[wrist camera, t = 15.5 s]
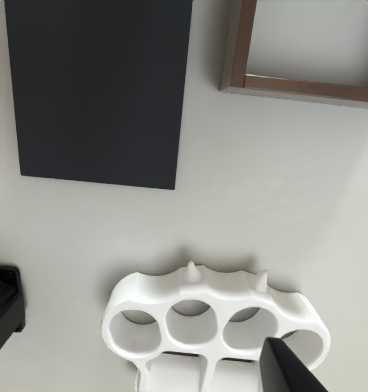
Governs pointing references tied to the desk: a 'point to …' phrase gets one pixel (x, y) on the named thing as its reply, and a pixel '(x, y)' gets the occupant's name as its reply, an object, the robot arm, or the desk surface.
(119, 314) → the white knuckle duster
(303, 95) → the cup caddy
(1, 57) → the desk surface
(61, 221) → the desk surface
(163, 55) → the desk mat
